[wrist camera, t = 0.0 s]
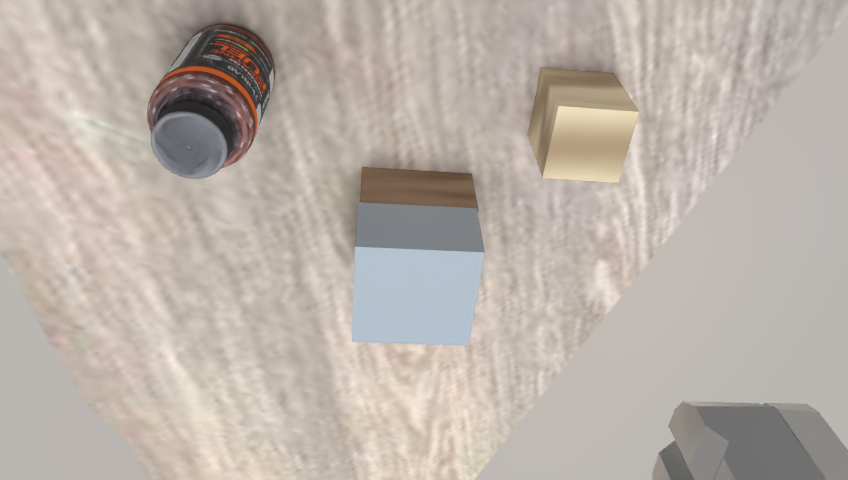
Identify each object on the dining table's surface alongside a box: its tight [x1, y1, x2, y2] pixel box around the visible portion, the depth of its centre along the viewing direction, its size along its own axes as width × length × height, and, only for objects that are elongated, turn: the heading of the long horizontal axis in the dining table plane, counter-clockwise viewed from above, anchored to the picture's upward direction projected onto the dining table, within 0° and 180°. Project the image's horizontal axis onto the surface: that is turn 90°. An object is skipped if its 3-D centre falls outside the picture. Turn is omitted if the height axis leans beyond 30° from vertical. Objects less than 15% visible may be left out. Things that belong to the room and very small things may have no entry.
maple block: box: [528, 68, 639, 183], centre depth 46 cm, size 5×5×6 cm
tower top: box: [352, 202, 485, 346], centre depth 47 cm, size 8×8×5 cm
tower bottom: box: [360, 167, 478, 214], centre depth 51 cm, size 8×8×5 cm
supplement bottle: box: [147, 25, 275, 179], centre depth 41 cm, size 6×6×11 cm
